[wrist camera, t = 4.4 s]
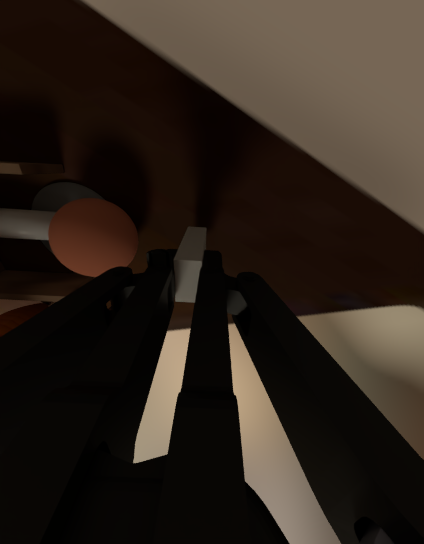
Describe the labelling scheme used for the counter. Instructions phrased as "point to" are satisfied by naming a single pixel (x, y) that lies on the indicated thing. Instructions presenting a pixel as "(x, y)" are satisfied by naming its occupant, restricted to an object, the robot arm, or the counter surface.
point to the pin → (25, 223)
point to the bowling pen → (33, 282)
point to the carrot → (19, 316)
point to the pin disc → (60, 198)
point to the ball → (92, 236)
